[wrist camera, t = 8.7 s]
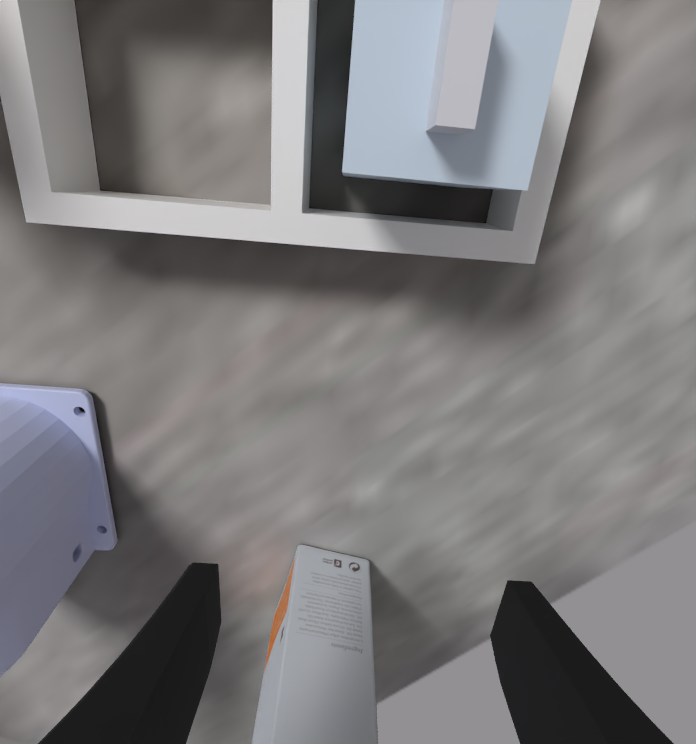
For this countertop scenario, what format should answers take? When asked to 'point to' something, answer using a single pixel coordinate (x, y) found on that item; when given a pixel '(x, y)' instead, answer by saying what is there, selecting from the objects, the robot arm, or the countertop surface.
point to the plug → (450, 90)
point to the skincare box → (320, 655)
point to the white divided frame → (288, 151)
